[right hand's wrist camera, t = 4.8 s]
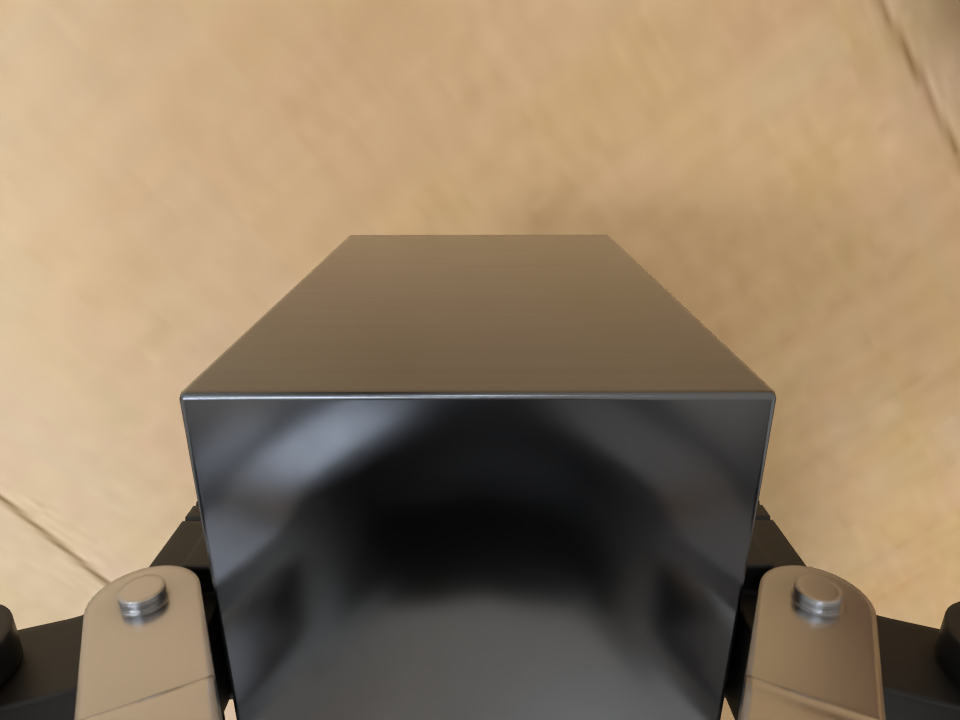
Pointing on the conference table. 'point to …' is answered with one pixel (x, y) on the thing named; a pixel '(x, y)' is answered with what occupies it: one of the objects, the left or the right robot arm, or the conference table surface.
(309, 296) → the box
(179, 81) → the conference table surface
